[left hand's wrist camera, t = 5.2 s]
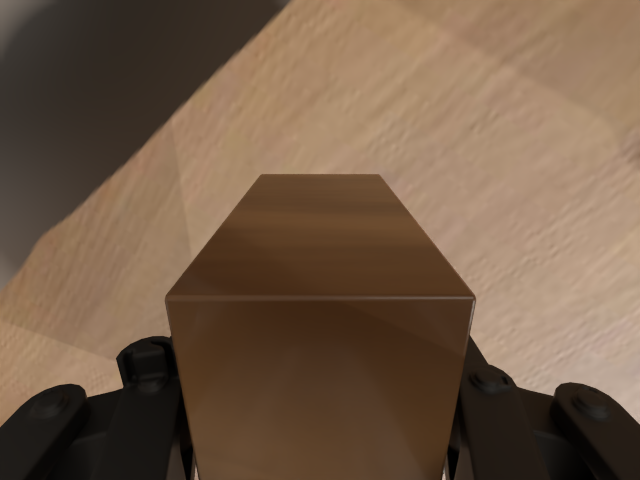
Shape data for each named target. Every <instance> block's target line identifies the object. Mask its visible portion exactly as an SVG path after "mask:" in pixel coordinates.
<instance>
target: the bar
mask: <svg viewBox="0 0 640 480" xmlns="http://www.w3.org/2000/svg"><path fill="white" fill-rule="evenodd" d="M165 304H166V309H167V315H168V320H169V325H170V330H171V336H172V341H173V346H174V351H175V357H176V362H177V367H178V372H179V378H180V383H181V388H182V394H183V399H184V404H185V409H186V415H187V420H188V425H189V430H190V436H191V441H192V446H193V451H194V457H195V462H196V467H197V473H198V478H199V480H442V476H443V471H444V466H445V460H446V455H447V450H448V445H449V440H450V434H451V429H452V424H453V419H454V413H455V408H456V403H457V398H458V392H459V387H460V382H461V377H462V372H463V366H464V361H465V356H466V351H467V345H468V340H469V335H470V330H471V325H472V319H473V314H474V309H475V304H476V297H475V295H474V294H473V292H472V291H471V290H470V289H469V287H468V286H467V285H466V283H465V282H464V281H463V280H462V278H461V277H460V276H459V275H458V273H457V272H456V271H455V270H454V268H453V267H452V266H451V265H450V263H449V262H448V261H447V259H446V258H445V257H444V256H443V254H442V253H441V252H440V251H439V249H438V248H437V247H436V246H435V244H434V243H433V242H432V240H431V239H430V238H429V237H428V235H427V234H426V233H425V232H424V230H423V229H422V228H421V227H420V225H419V224H418V223H417V222H416V220H415V219H414V218H413V216H412V215H411V214H410V213H409V211H408V210H407V209H406V208H405V206H404V205H403V204H402V203H401V201H400V200H399V199H398V197H397V196H396V195H395V194H394V192H393V191H392V190H391V189H390V187H389V186H388V185H387V184H386V182H385V181H384V180H383V179H382V177H381V176H380V175H379V174H262V175H260V176H259V178H258V179H257V180H256V181H255V183H254V184H253V185H252V187H251V188H250V189H249V190H248V192H247V193H246V194H245V195H244V197H243V198H242V199H241V201H240V202H239V203H238V204H237V206H236V207H235V208H234V209H233V211H232V212H231V213H230V215H229V216H228V217H227V218H226V220H225V221H224V222H223V223H222V225H221V226H220V227H219V229H218V230H217V231H216V232H215V234H214V235H213V236H212V237H211V239H210V240H209V241H208V243H207V244H206V245H205V246H204V248H203V249H202V250H201V251H200V253H199V254H198V255H197V257H196V258H195V259H194V260H193V262H192V263H191V264H190V265H189V267H188V268H187V269H186V271H185V272H184V273H183V274H182V276H181V277H180V278H179V279H178V281H177V282H176V283H175V285H174V286H173V287H172V288H171V290H170V291H169V292H168V293H167V295H166V297H165Z"/></svg>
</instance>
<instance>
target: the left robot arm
mask: <svg viewBox="0 0 640 480" xmlns="http://www.w3.org/2000/svg"><path fill="white" fill-rule="evenodd" d="M116 360H117V364H118V368H119V371H120V375H121V379H122V382H123V388H122V389H119V390H116V391H113V392H108V393H104V394H100V395H96V396H91V397H87V395H86V392H85V390H84V389H83V388H82V387H81V386H80V385H75V384H64V385H58V386H55V387H52V388H49V389H46V390H44V391H42V392H40V393H38V394H37V395H35V396H33V397H31V398H30V399H29V400H28V401H27V402H25V403H24V404H23V405H22V406H21V407H20V408H19V409H18V410H17V411H16V412H15V413H14V414H13V415H12V416H11V417H10V418H9V419H8V420H7V421H6V422H5V423H4V424H3V425H2V426H1V427H0V480H194V477H195V466H196V462H195V457H194V451H193V446H192V441H191V436H190V430H189V425H188V420H187V415H186V409H185V404H184V399H183V394H182V388H181V383H180V378H179V372H178V367H177V362H176V357H175V351H174V346H173V341H172V336H170V338H169V337H165V336H152V337H148V338H144V339H141V340H138V341H136V342H134V343H132V344H130V345H129V346H127V347H126V348H125V349H123V350H122V351H121V352H120V354H119V355H118V356H117V358H116ZM444 472H445V476H446V480H640V424H639V423H638V422H637V421H636V420H635V419H634V418H633V417H632V416H631V415H630V414H629V413H628V412H627V411H626V410H625V409H624V408H623V407H622V406H621V405H620V404H619V403H617V402H616V401H615V400H614V399H612V398H611V397H610V396H609V395H607V394H605V393H603V392H601V391H599V390H598V389H596V388H593V387H590V386H587V385H584V384H579V383H572V382H569V383H564V384H561V385H559V386H558V387H557V388H556V390H555V393H554V396H551V395H546V394H542V393H538V392H534V391H529V390H526V389H522V388H519V387H517V386H516V384H515V383H514V381H513V380H512V378H511V377H510V376H509V375H507V374H506V373H505V372H504V371H502V370H500V369H499V368H497V367H495V366H493V365H489V364H488V363H487V361H486V360H485V358H484V357H483V355H482V353H481V352H480V350H479V349H478V347H477V346H476V344H475V342H474V341H473V339H472V338H471V336H470V335H469V340H468V345H467V351H466V356H465V361H464V366H463V372H462V377H461V382H460V387H459V392H458V398H457V403H456V408H455V413H454V419H453V424H452V429H451V434H450V440H449V445H448V450H447V455H446V460H445V466H444V471H443V474H444Z"/></svg>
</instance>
